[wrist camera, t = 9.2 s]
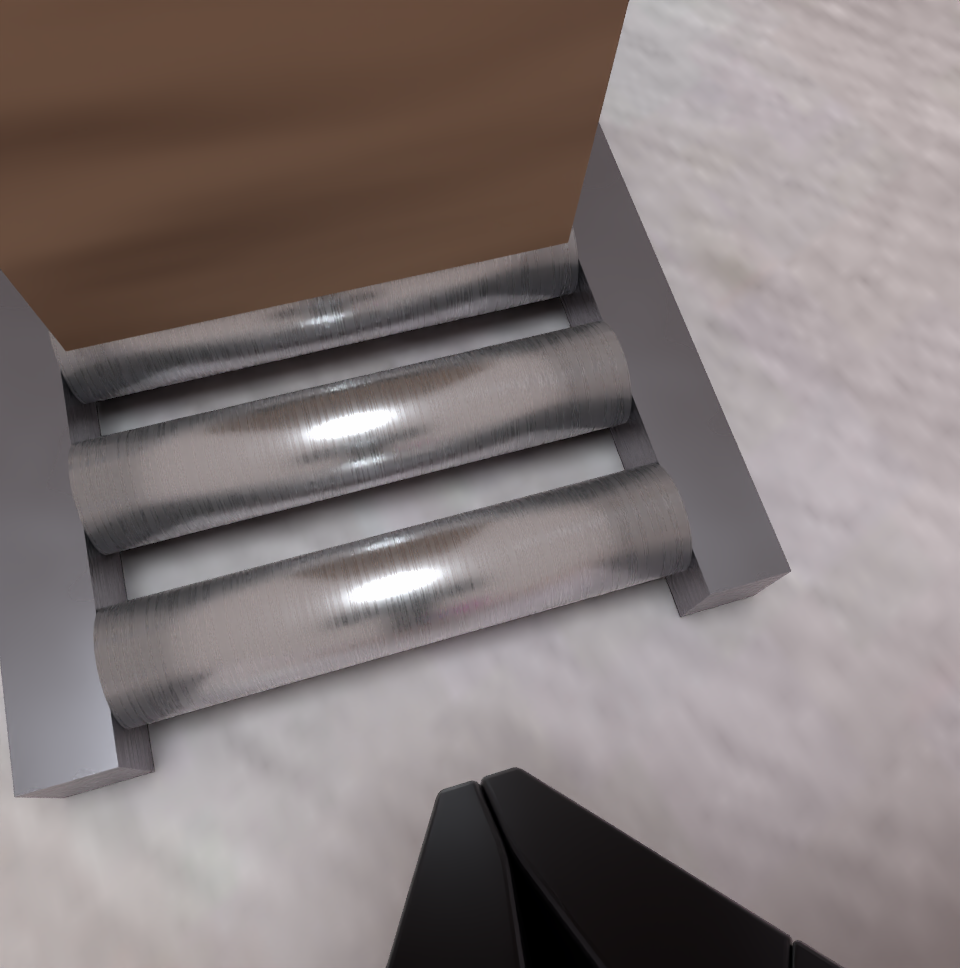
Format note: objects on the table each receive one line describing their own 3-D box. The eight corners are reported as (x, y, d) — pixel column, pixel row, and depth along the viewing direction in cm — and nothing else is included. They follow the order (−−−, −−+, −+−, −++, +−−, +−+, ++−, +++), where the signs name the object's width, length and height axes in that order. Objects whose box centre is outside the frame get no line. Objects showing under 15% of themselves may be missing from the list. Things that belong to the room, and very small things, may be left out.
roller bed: (753, 595, 16) (926, 484, 11) (62, 798, 14) (-172, 793, 9) (480, -71, 22) (498, -370, 16) (-35, 9, 20) (-214, -298, 15)
